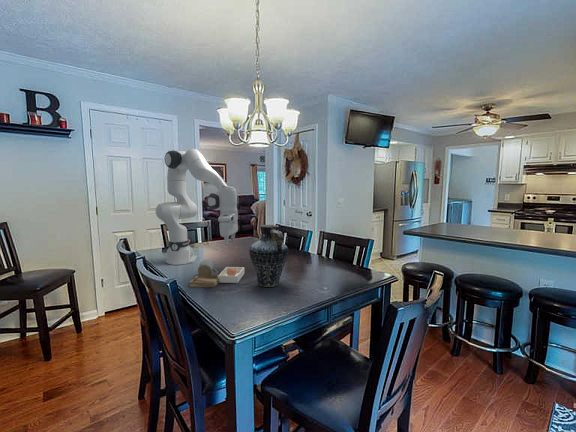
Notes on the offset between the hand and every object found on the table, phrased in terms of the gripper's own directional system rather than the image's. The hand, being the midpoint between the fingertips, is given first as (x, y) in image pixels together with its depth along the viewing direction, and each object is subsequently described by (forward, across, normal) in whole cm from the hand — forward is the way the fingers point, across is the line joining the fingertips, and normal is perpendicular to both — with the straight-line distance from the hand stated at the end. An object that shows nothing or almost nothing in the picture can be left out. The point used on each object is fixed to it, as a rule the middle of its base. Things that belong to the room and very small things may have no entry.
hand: (230, 242), depth 158 cm
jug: (+20, +7, +22) cm, 31 cm away
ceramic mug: (+19, -5, -15) cm, 25 cm away
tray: (+19, +8, -11) cm, 24 cm away
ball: (+16, -1, 0) cm, 16 cm away
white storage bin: (+19, -1, 0) cm, 19 cm away
